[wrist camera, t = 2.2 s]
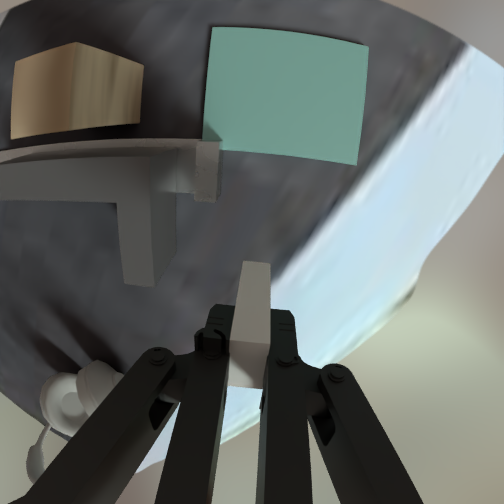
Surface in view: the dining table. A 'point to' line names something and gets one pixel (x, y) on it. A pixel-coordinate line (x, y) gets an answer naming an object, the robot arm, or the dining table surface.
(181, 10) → the dining table surface
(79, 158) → the grey l-shaped block
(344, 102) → the pad
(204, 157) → the rail
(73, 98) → the beech block
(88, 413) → the headphones
